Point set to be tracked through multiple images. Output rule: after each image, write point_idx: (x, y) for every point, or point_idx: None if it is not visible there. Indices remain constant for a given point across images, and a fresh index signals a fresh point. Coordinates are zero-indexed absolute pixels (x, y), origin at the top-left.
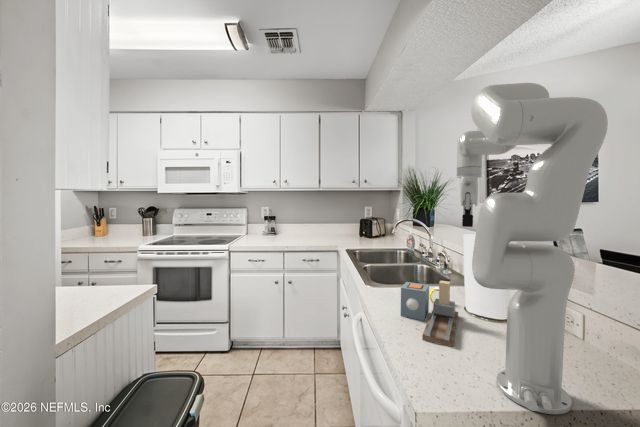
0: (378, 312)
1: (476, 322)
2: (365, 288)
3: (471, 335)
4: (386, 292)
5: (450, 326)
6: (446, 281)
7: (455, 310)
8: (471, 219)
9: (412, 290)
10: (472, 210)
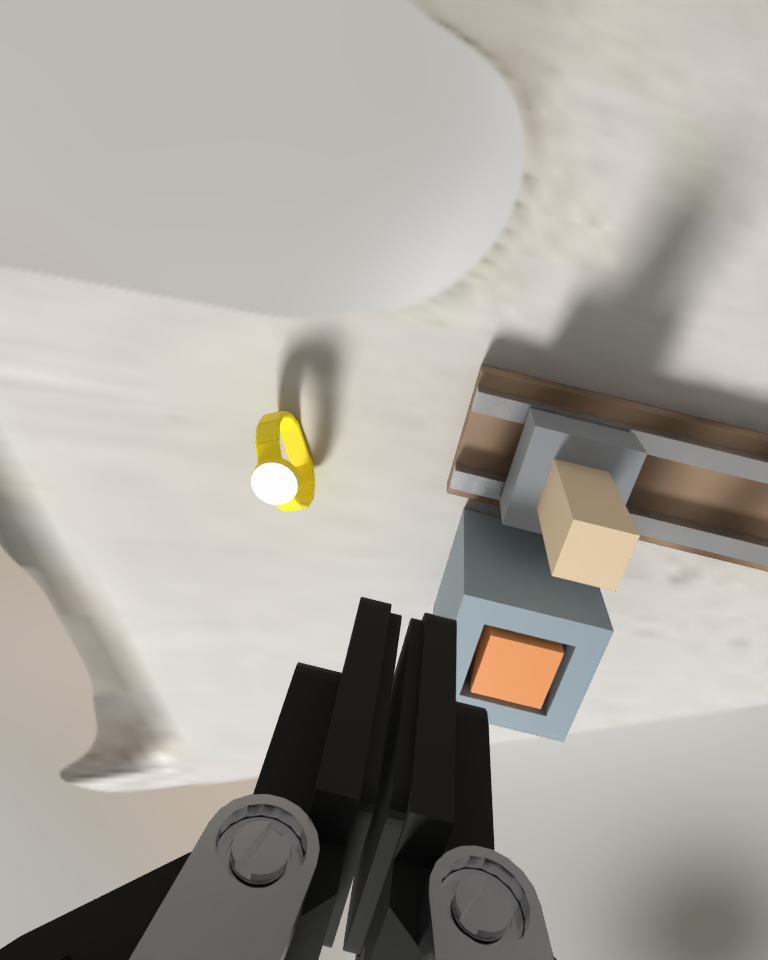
0: None
1: (550, 280)
2: (204, 769)
3: (726, 346)
4: (226, 681)
5: (755, 465)
6: (572, 541)
7: (481, 388)
8: (449, 750)
9: (585, 686)
10: (158, 914)
